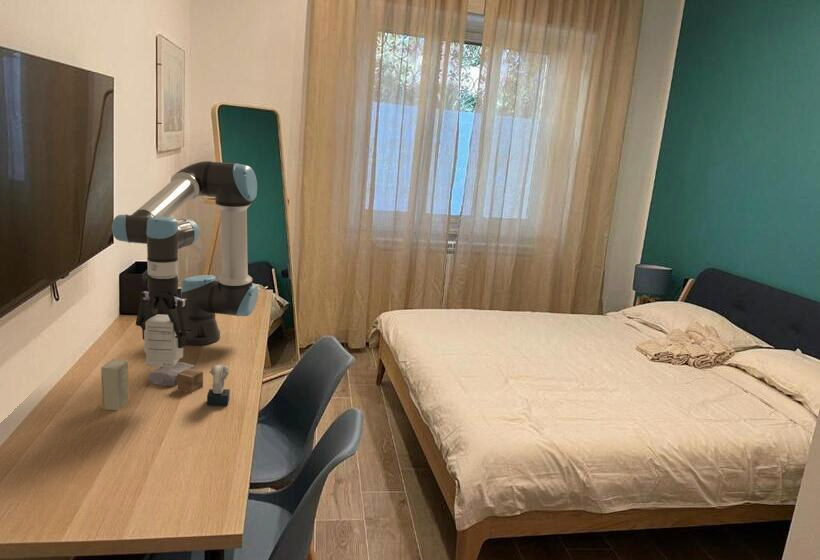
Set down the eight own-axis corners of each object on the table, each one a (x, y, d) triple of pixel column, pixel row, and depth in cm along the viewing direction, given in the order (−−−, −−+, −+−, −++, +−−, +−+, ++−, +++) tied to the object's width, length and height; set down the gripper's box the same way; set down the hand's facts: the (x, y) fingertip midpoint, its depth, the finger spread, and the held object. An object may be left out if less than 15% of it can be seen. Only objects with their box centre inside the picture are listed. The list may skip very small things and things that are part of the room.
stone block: (146, 388, 178) (176, 387, 176) (143, 373, 177) (174, 371, 175) (169, 376, 189) (197, 374, 187) (166, 361, 188) (195, 359, 186)
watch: (230, 396, 173) (230, 360, 170) (226, 408, 165) (227, 371, 163) (210, 396, 172) (210, 360, 169) (205, 408, 164) (206, 371, 162)
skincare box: (113, 400, 164) (112, 358, 162) (129, 401, 164) (128, 360, 162) (101, 410, 158) (100, 367, 156) (117, 411, 158) (116, 368, 156)
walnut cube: (189, 383, 179) (189, 368, 178) (202, 387, 178) (203, 371, 177) (177, 389, 175) (177, 373, 173) (191, 393, 173) (191, 377, 172)
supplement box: (154, 356, 167) (153, 313, 164) (181, 357, 167) (181, 314, 165) (145, 366, 160) (144, 321, 157) (173, 367, 160) (173, 323, 157)
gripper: (119, 271, 158) (121, 351, 163) (187, 284, 151) (187, 367, 156) (140, 266, 165) (142, 343, 170) (206, 279, 158) (206, 358, 163)
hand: (163, 354), depth 163 cm, fingers closed on supplement box, 9 cm apart
